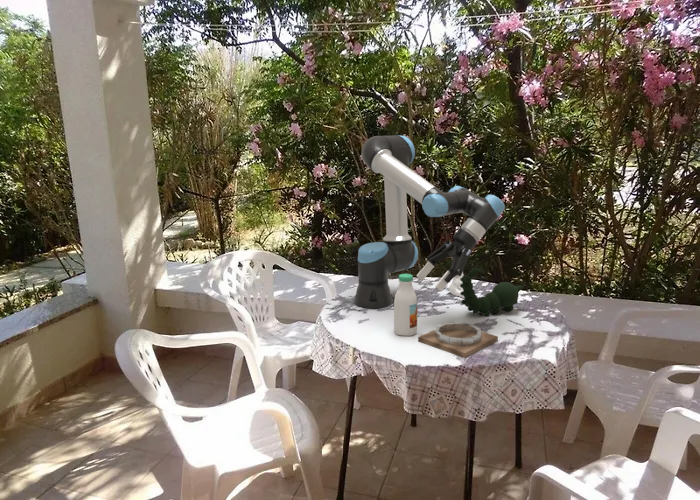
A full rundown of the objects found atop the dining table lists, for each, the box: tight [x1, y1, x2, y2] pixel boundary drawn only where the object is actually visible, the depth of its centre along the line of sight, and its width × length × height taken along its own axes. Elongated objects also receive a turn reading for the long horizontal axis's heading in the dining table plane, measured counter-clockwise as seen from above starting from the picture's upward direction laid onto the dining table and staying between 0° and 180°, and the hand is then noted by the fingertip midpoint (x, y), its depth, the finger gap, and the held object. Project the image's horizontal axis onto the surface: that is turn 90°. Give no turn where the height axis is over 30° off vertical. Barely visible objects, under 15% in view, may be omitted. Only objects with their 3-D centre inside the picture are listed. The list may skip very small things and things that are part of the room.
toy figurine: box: [460, 267, 524, 317], centre depth 192 cm, size 9×19×25 cm
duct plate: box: [417, 329, 499, 358], centre depth 168 cm, size 18×18×2 cm
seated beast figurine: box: [448, 271, 465, 299], centre depth 215 cm, size 10×9×12 cm
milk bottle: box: [393, 273, 418, 337], centre depth 174 cm, size 8×8×20 cm
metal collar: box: [434, 322, 483, 346], centre depth 168 cm, size 14×14×2 cm
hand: (428, 283), depth 174 cm, fingers open, 13 cm apart
